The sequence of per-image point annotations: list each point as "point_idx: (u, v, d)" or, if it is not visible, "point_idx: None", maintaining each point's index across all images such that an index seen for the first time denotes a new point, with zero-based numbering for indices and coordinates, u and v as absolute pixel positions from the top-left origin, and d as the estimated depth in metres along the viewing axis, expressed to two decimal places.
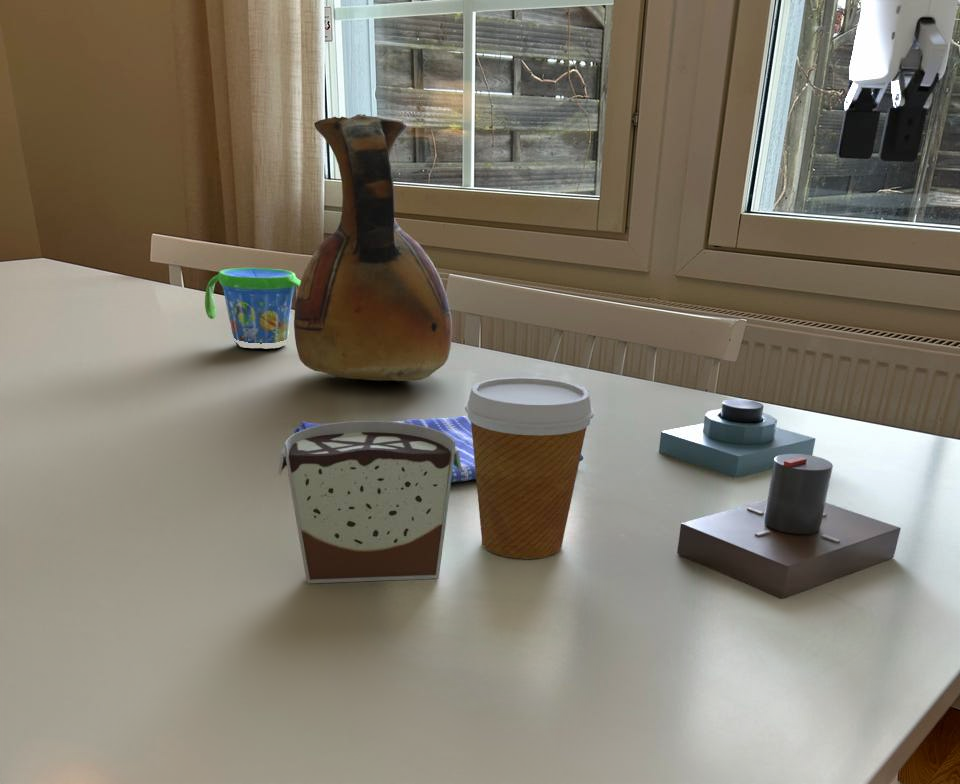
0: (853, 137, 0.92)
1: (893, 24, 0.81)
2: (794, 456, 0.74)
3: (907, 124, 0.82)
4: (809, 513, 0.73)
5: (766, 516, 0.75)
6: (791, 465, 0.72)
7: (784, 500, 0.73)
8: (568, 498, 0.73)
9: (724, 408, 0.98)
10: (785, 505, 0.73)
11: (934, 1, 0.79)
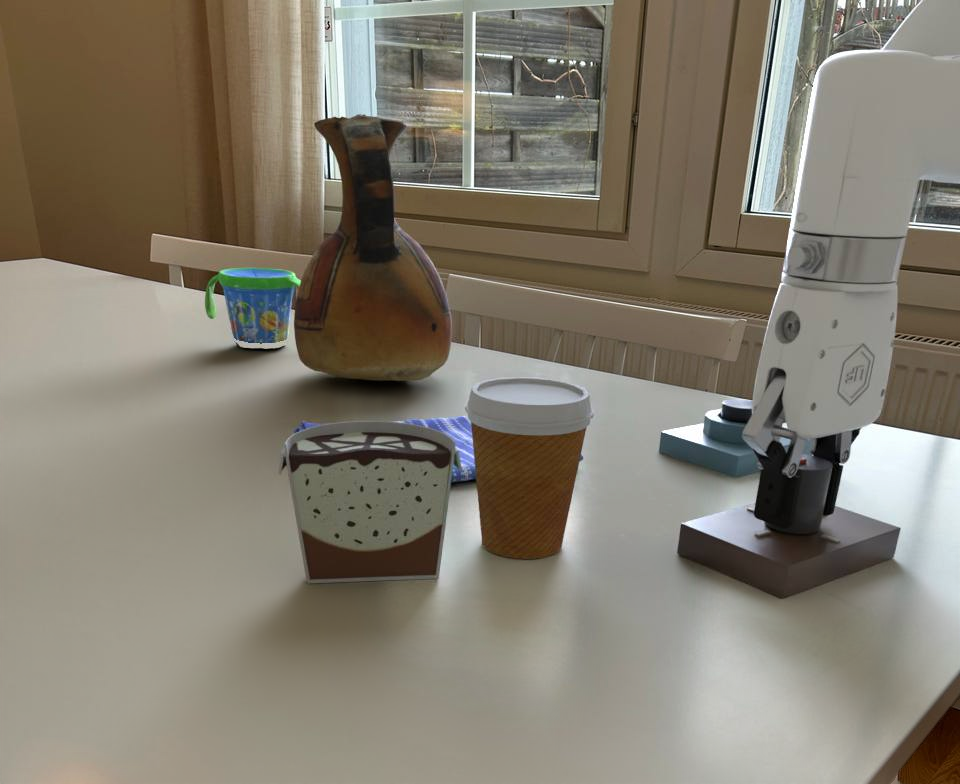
0: None
1: None
2: None
3: (769, 488, 0.72)
4: (809, 513, 0.73)
5: None
6: None
7: None
8: (568, 498, 0.73)
9: (724, 408, 0.98)
10: None
11: (785, 353, 0.66)
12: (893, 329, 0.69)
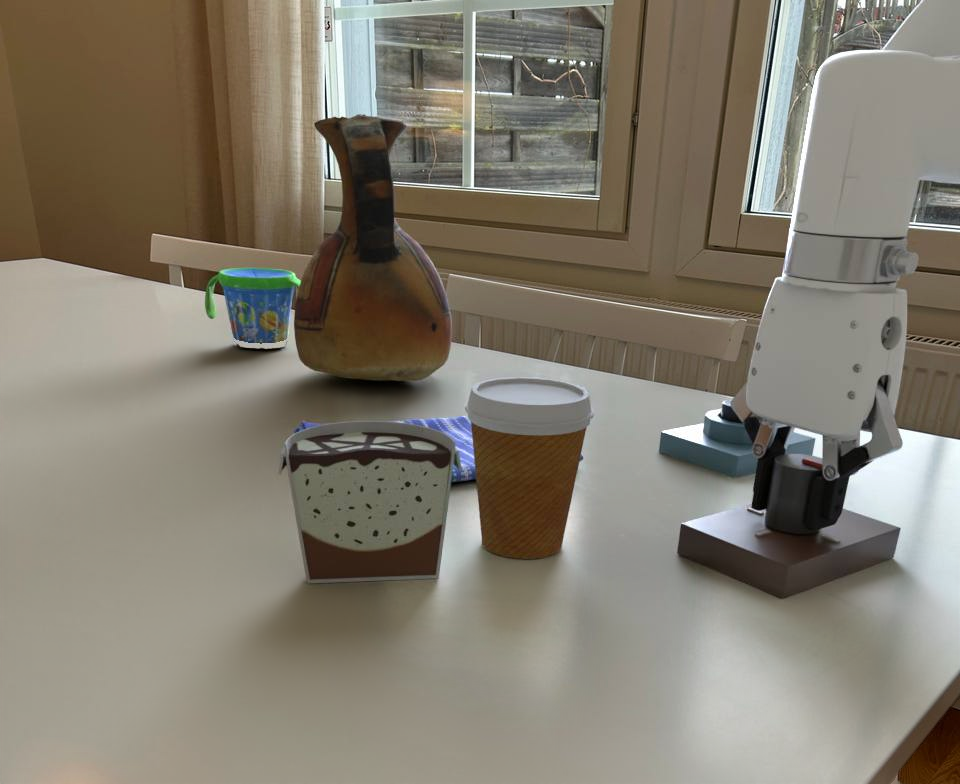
0: None
1: (850, 383, 0.66)
2: (787, 462, 0.73)
3: (837, 494, 0.71)
4: None
5: (803, 526, 0.73)
6: None
7: None
8: (568, 498, 0.73)
9: (724, 408, 0.98)
10: None
11: (891, 358, 0.66)
12: None
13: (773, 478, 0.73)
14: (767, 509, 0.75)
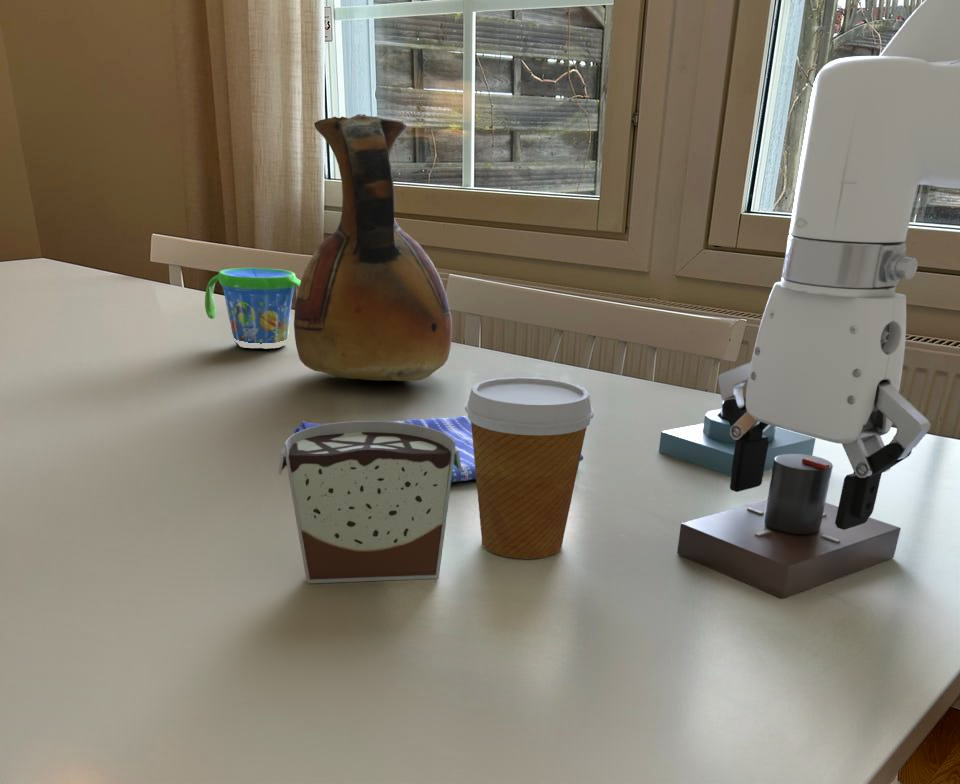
0: (748, 469, 0.77)
1: (849, 387, 0.66)
2: (787, 462, 0.73)
3: (869, 492, 0.69)
4: None
5: (802, 526, 0.73)
6: None
7: (823, 501, 0.73)
8: (568, 498, 0.73)
9: None
10: (823, 505, 0.73)
11: (890, 362, 0.66)
12: None
13: (773, 478, 0.74)
14: (767, 509, 0.75)
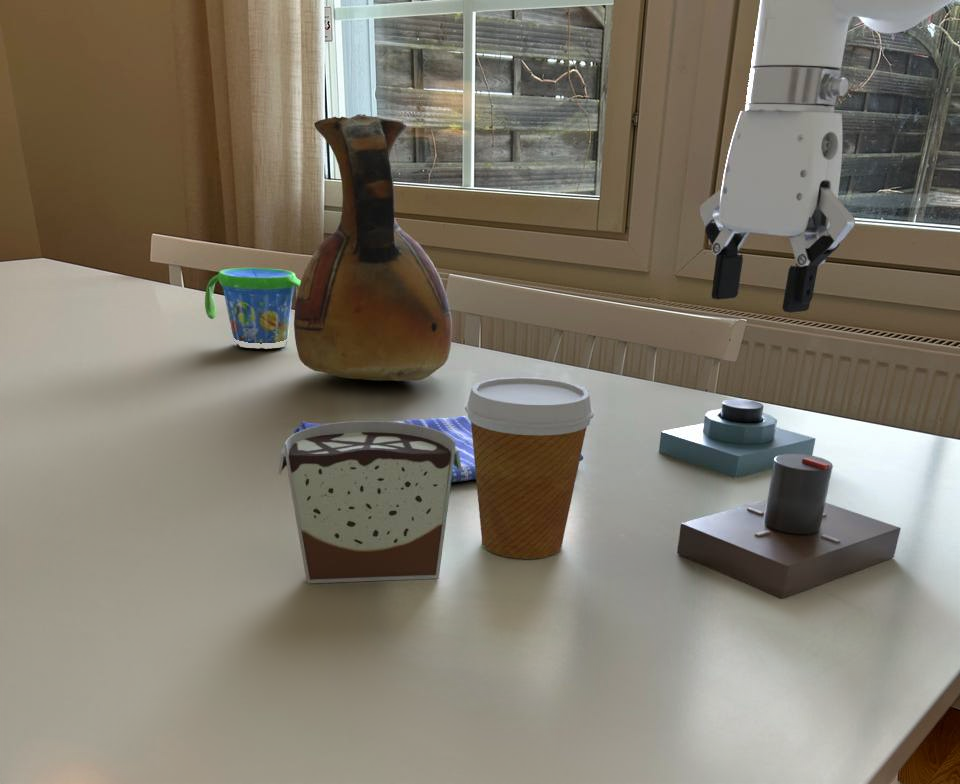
0: (726, 280, 0.95)
1: (798, 186, 0.85)
2: (787, 462, 0.73)
3: (808, 280, 0.89)
4: None
5: (802, 526, 0.73)
6: None
7: (823, 501, 0.73)
8: (568, 498, 0.73)
9: (724, 408, 0.98)
10: (823, 505, 0.73)
11: (830, 166, 0.85)
12: None
13: (773, 478, 0.74)
14: (767, 509, 0.75)
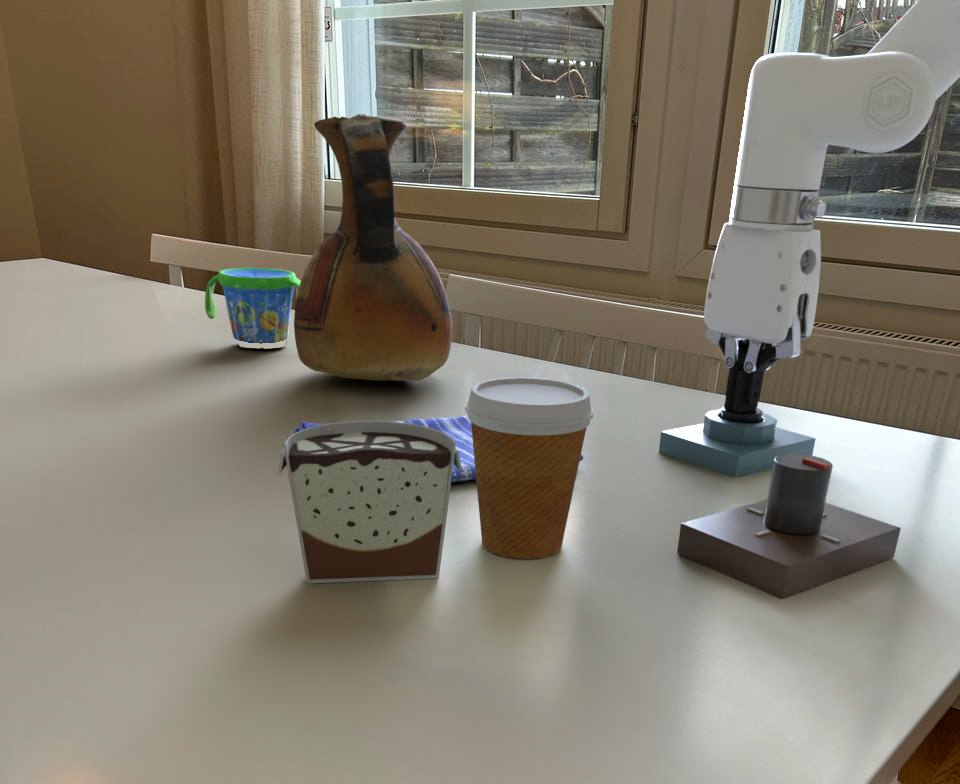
0: None
1: (778, 299, 0.89)
2: (787, 462, 0.73)
3: (755, 384, 0.96)
4: None
5: (802, 526, 0.73)
6: None
7: (823, 501, 0.73)
8: (568, 498, 0.73)
9: (723, 414, 0.98)
10: (823, 505, 0.73)
11: (808, 280, 0.89)
12: None
13: (773, 478, 0.74)
14: (767, 509, 0.75)
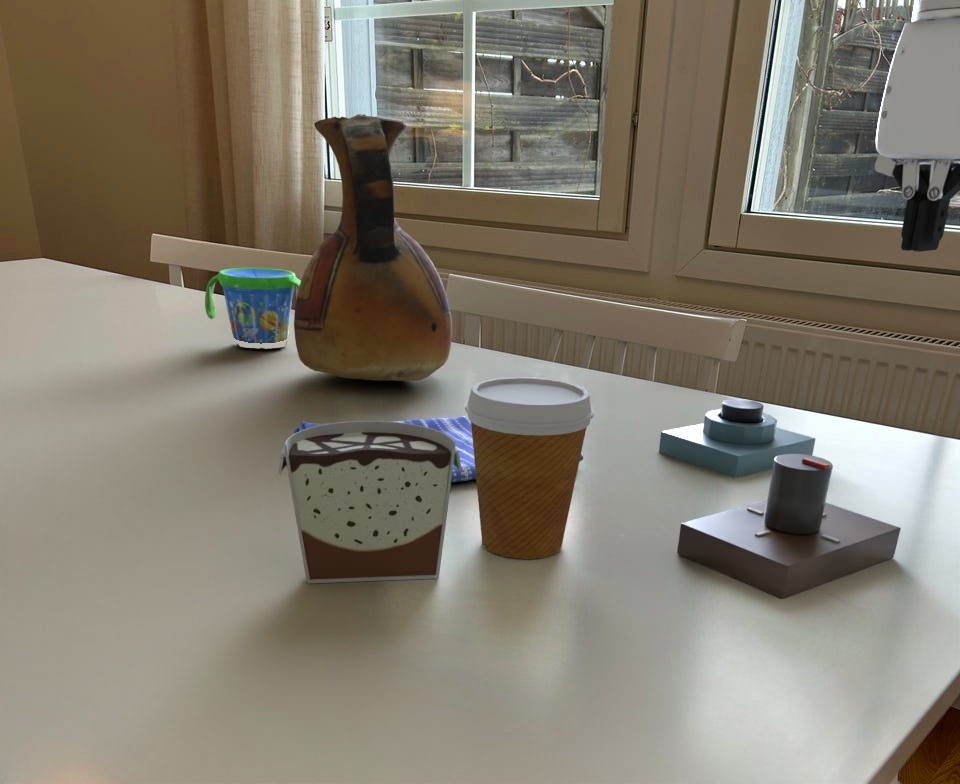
0: None
1: None
2: (787, 462, 0.73)
3: (940, 215, 0.83)
4: None
5: (802, 526, 0.73)
6: None
7: (823, 501, 0.73)
8: (568, 498, 0.73)
9: (724, 408, 0.98)
10: (823, 505, 0.73)
11: None
12: None
13: (773, 478, 0.74)
14: (767, 509, 0.75)
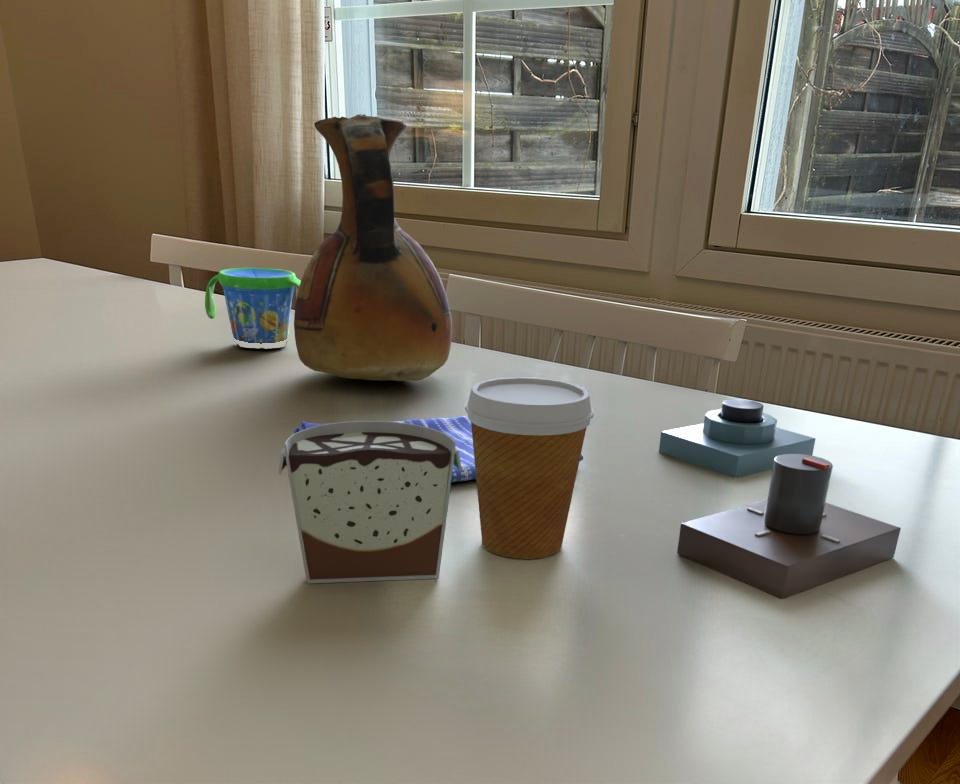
0: None
1: None
2: (787, 462, 0.73)
3: None
4: None
5: (802, 526, 0.73)
6: None
7: (823, 501, 0.73)
8: (568, 498, 0.73)
9: (724, 408, 0.98)
10: (823, 505, 0.73)
11: None
12: None
13: (773, 478, 0.74)
14: (767, 509, 0.75)
